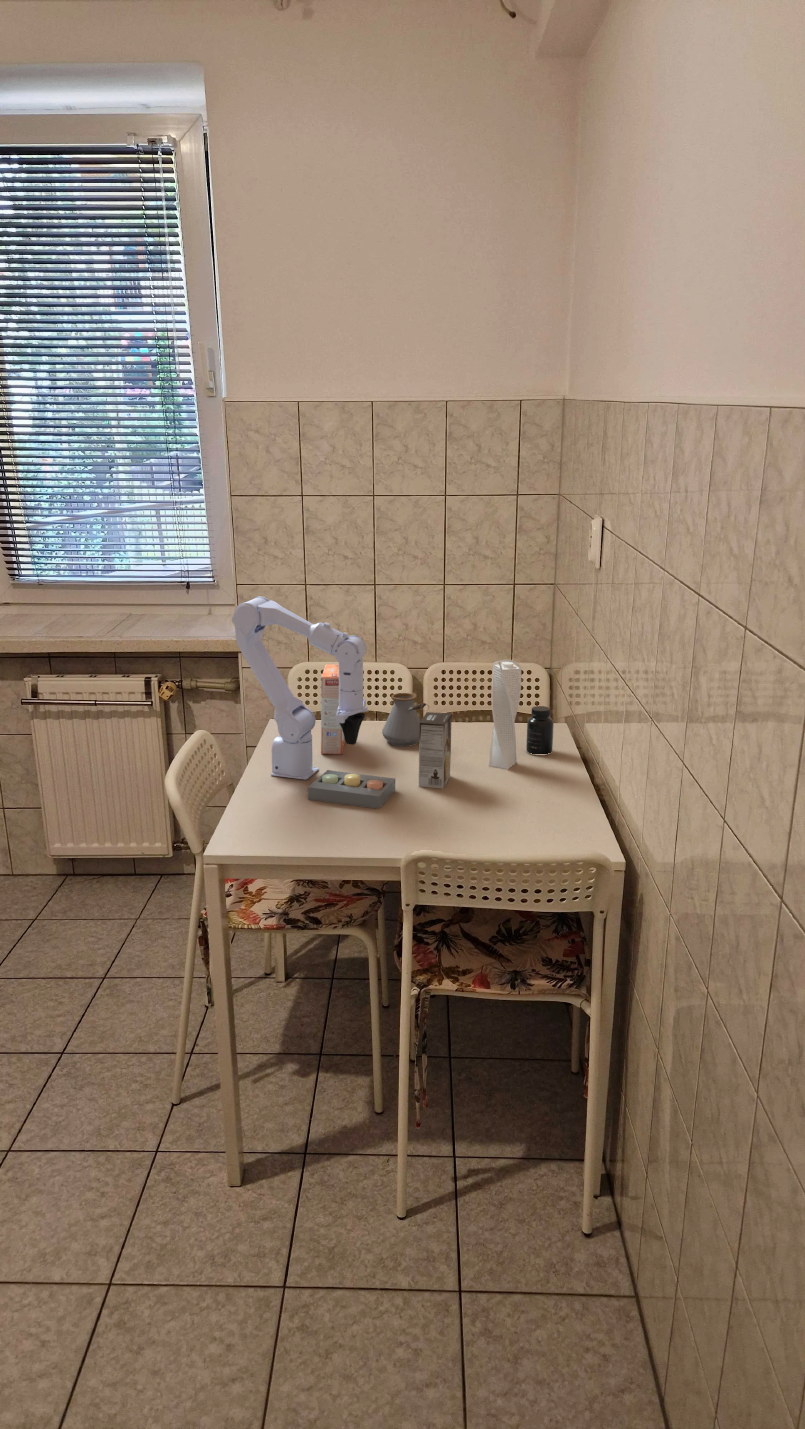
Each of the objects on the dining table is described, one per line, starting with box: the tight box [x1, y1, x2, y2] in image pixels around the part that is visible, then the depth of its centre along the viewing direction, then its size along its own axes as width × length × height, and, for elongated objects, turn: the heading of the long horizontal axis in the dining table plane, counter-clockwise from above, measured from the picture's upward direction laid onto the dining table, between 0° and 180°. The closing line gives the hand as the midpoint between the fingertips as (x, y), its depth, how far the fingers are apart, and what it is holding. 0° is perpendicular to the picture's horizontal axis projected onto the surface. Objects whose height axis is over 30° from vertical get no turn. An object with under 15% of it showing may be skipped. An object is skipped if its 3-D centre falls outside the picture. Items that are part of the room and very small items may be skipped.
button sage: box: [322, 774, 338, 784], centre depth 232 cm, size 4×4×3 cm
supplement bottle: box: [525, 705, 555, 754], centre depth 260 cm, size 7×7×12 cm
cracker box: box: [320, 663, 346, 756], centre depth 261 cm, size 14×6×21 cm, turn 179°
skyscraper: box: [488, 658, 522, 770], centre depth 248 cm, size 8×8×28 cm
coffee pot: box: [381, 692, 430, 747], centre depth 262 cm, size 21×12×15 cm, turn 20°
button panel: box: [307, 769, 396, 810], centre depth 230 cm, size 17×12×3 cm
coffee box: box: [418, 711, 453, 789], centre depth 238 cm, size 9×6×16 cm
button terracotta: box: [367, 780, 383, 790], centre depth 229 cm, size 4×4×3 cm
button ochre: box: [344, 773, 360, 787], centre depth 230 cm, size 4×4×3 cm
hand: (351, 743), depth 238 cm, fingers closed
